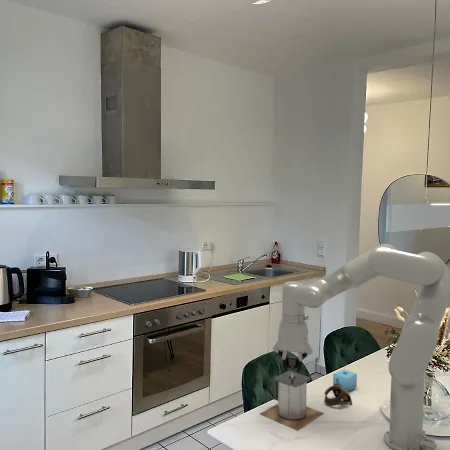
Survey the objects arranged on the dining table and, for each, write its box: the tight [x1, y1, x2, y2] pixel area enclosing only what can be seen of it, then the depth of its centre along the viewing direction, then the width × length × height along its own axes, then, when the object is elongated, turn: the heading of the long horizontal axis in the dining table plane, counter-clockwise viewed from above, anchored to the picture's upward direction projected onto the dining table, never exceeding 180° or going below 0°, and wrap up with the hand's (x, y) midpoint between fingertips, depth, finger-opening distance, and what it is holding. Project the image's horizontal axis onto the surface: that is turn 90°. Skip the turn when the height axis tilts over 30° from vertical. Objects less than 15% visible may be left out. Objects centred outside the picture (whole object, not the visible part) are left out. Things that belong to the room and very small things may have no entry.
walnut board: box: [259, 403, 325, 432], centre depth 155 cm, size 16×16×1 cm
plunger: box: [287, 355, 298, 379], centre depth 155 cm, size 7×7×16 cm
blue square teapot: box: [332, 369, 358, 393], centre depth 177 cm, size 12×6×8 cm, turn 131°
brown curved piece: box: [324, 383, 353, 407], centre depth 165 cm, size 12×10×8 cm
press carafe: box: [273, 370, 311, 421], centre depth 156 cm, size 12×10×13 cm
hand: (292, 369), depth 154 cm, fingers closed on plunger, 3 cm apart
